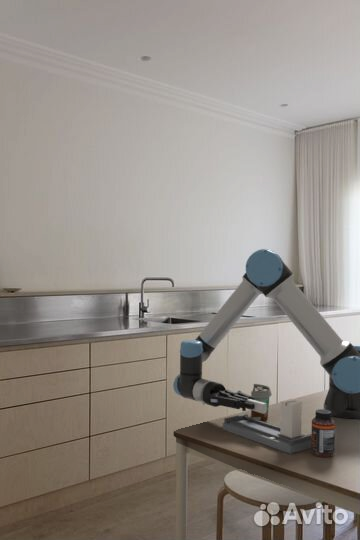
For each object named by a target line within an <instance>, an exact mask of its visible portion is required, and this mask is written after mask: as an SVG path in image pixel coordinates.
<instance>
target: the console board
mask: <svg viewBox="0 0 360 540" xmlns="http://www.w3.org/2000/svg"><path fill="white" fill-rule="evenodd" d="M222 430H223V431H226V432H229V433H232V434H235V435H237V436H240V437H242V438H245V439H248V440H252V441H255V442H257V443H260V444H263V445H265V446H268V447H271V448H273V449H276V450H279V451H281V452H284V453H287V454H290V455H292V454H294V453H295V454H296V453H297V452H301V451H303V450H307V449H311V435H312V433H309V434H306V435H305V434H302V433H301V434H302V435H304V436H302V437H299V438H295V439H292V440H289V439H286V438H283V437H280V436H278V434H279V433H280V426H277V425H273V424H271V423H267V422H266V421H264V422H262V421H259V420H256V419H252V418H251V417H249V415H248V414H247V413H242V414H239V415H234V416H230V417H225V418H224V419H223V423H222Z"/></svg>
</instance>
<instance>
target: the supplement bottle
mask: <svg viewBox="0 0 360 540" xmlns="http://www.w3.org/2000/svg"><path fill="white" fill-rule="evenodd" d="M311 434H312V435H311V448H310V450H311V453H312V454H313V455H315V456H316V457H322V458H330V457H333V456H334V455H335V450H336V449H335V446H336V445H335V443H336V435H335V434H336V423H335V420H334V419H332V415H331V411H329V410H325V409H324V408H321V409H316V410H315V416H314V417H313V418H312V420H311Z"/></svg>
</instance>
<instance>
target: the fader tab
mask: <svg viewBox="0 0 360 540" xmlns="http://www.w3.org/2000/svg"><path fill="white" fill-rule="evenodd" d="M302 404H303V402H301V401H298V400H295V399H285V400H280V420H279V421H280V422H279V423H280V426H279V427H280V433H279V434H278V436H280V437H283V438H286V439H289V440H292V439H295V438H299V437H302V436H304V435H305V434H303V435H302V411H303V410H302V408H303V405H302Z"/></svg>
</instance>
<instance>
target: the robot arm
mask: <svg viewBox="0 0 360 540" xmlns="http://www.w3.org/2000/svg"><path fill="white" fill-rule="evenodd" d="M294 276H295V275H294V272H293V271H292V270H291V269H290V268H289V267H288V266H287V265H286V264H285V262H284V260H282V257H280V255H279V254H278V253H276V251H273V250H272V249H267V248H262V249H257V250H256V251H254V252H252V254H251V255H250V256H249V257H248V258H247V260H246V263H245V273H244V274H243V275H242V277H241V278H242V281H241V282H240V283H239V284H238V286H237V287H236V289H235V290H234V292H232V294H230V296H229V298H228V299H227V300H226V301H225V302H224V303H223V304H222V306H221V307H220V308H219V310H218V311H217V312H216V313H215V314H214V316H213V318H211V320H210V321H209V322H208V323H207V324H206V326H205V327H204V328H203V330H202V331H200V333H199V335H198V336H196V338H195V339H185V340H182V341H181V343H180V346H179V347H180V349H179V353H180V355H179V356H180V357H179V358H180V359H179V374H177V376H175V378H174V381H173V384H172V385H173V391H174V392H175V394H176V395H178V396H180V397H182V398H184V399H189V400H191V401H196V402H198V403H202V405H203V406H204V405H208V406H211V407H213V408H215V407H216V408H218V407H220V406H221V407H226V408H230V409H236V410H240V409H241V410H242V412H246V411H247V410H250V411H251V410H252V411H256V412H259V413H263V414H264V413H267V403H263V402H259V401H256V400H254V397H252V396H251V395H250V394H247V393H245V392H242V390H237V391H236V392H235V391H231V390H230V389H226V387H225V386H224V384H222V383H220V382H215V381H213V380H210V379H209V380H208V379H205V378H203V363H204V362H206V361H207V360H208V359H209V357H210V356H211V355H212V353H213V352H214V351H215V349H216V348H217V346H218V345H219V344H220V343H221V342H222V340H223V339H225V337H227V335H228V333H229V332H230V331H231V330H232V328H233V327H234V326H235V325H236V324H237V322H238V321H239V320H240V319H241V318H242V316H244V314H245V313H246V311H247V310H248V309H249V308H250V307H251V305H252V304H253V303H254V302H255V301H256V299H257V298H258V297H259V296H260V295H263V296H264V297H265V298H271V299H273V300H274V302H275V303H276V304H277V305H278V306H279V308H280V309H281V310H282V311H283V313H284V314H285V315H286V316H287V318H288V319H289V320H290V321H291V323H292V324H293V325H294V326H295V327H296V329H297V330H298V331H299V332H300V333H301V335H302V336H303V337H304V338H305V340H306V341H307V342H308V343H309V344H310V346H311V347H312V348H313V350H314V351H315V352H316V353H317V355H319V357H320V362H319V364H320V366H321V367H322V368H323V369H324V371H326V373H327V374H328V376H329V377H328V379H329V380H328V390H327V394H326V397H325V399H324V403H323V409H325V410H329V411H331V417H332V416H333V417H337V418H343V419H360V345H353V344H352V343H351V341H347V340H342V338H341V337H340V336H339V335H338V333H337V332H336V331H335V330H334V329H333V327H332V326H331V325H330V324H329V322H328V321H327V320H326V319H325V318H324V316H323V315H322V314H321V313H320V311H318V309H317V308H316V307H315V306H314V304H313V303H312V302H311V301H310V300H309V299H308V297H307V296H306V295H305V293H304V292H303V291H302V290H301V289H300V287H299V286H298V285H297V284H296V283H295V282H294ZM246 409H247V410H246Z"/></svg>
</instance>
